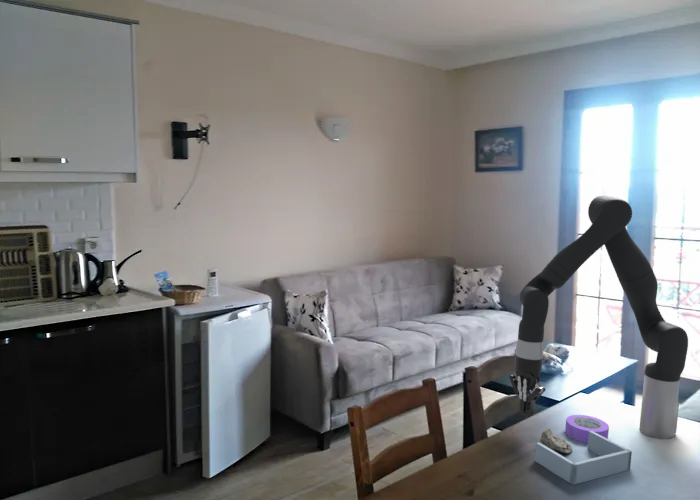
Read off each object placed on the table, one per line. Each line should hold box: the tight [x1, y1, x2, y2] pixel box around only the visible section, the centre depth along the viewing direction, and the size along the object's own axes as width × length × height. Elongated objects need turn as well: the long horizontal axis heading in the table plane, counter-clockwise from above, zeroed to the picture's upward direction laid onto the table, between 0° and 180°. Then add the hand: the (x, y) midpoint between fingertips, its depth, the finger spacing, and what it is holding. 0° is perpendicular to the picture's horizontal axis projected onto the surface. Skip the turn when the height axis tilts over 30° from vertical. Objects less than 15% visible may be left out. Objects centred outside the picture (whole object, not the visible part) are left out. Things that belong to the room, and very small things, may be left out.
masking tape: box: [564, 414, 610, 444], centre depth 172 cm, size 12×12×4 cm
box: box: [534, 431, 633, 486], centre depth 153 cm, size 20×13×5 cm, turn 115°
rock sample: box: [539, 428, 573, 454], centre depth 162 cm, size 10×8×9 cm
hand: (524, 411), depth 172 cm, fingers closed
